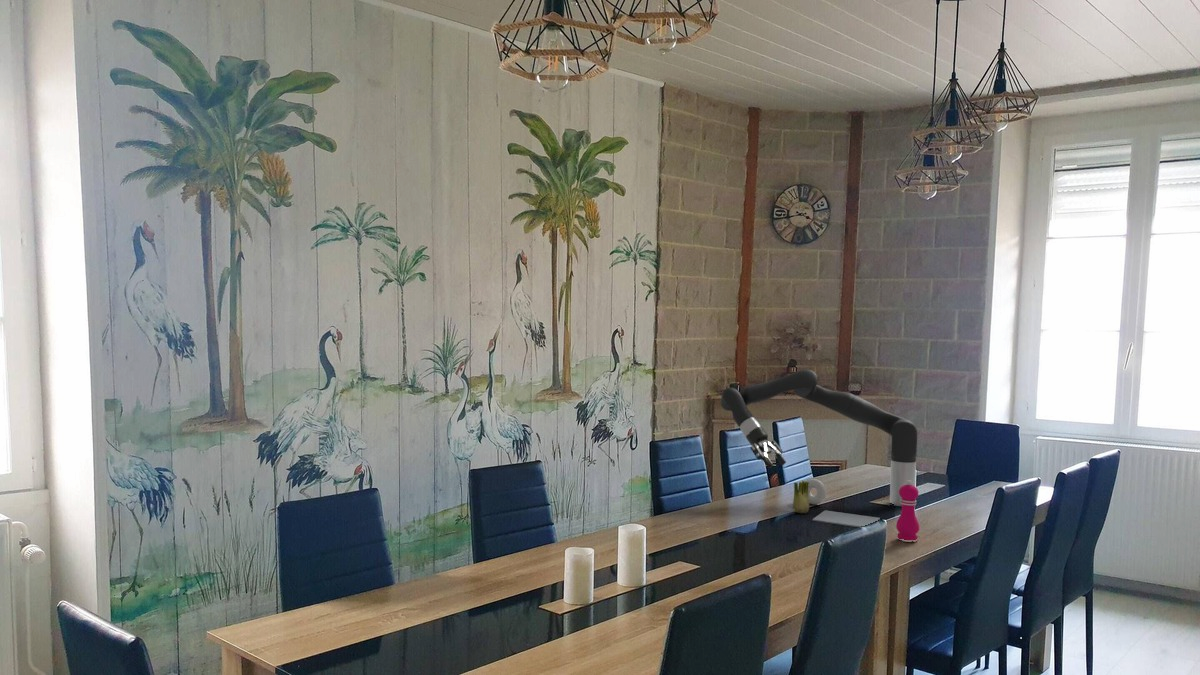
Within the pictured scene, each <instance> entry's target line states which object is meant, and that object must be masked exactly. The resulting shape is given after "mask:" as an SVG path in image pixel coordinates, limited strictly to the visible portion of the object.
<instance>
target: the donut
mask: <svg viewBox="0 0 1200 675" xmlns="http://www.w3.org/2000/svg"><path fill="white" fill-rule="evenodd" d="M806 481H807V482H809V485H808V496H809V505H810V504H811V505H814V506H815V505H821V504H822V503H823V502H824V501H825V499H826V498H827V488H826V486H825V485H824V483H823V482H822V481H820V480H819V479H817V478H810V479H807V480H806ZM813 488H814V489H816V492H817V494H815V495H814V494H812V492H811V490H812V489H813Z"/></svg>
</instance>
